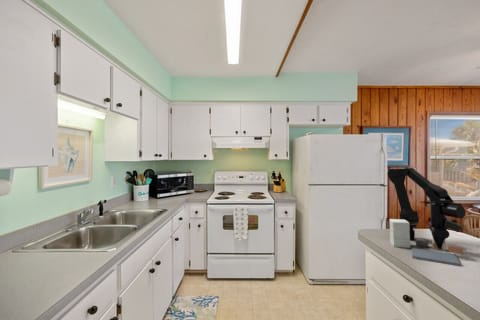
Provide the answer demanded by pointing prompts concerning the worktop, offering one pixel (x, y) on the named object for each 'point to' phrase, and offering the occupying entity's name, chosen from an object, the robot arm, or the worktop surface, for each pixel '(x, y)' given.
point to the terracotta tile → (455, 249)
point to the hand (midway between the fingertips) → (438, 246)
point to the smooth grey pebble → (422, 243)
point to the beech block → (436, 245)
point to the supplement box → (399, 233)
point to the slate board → (435, 256)
